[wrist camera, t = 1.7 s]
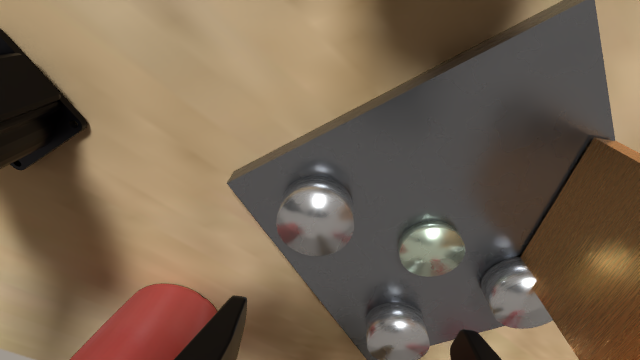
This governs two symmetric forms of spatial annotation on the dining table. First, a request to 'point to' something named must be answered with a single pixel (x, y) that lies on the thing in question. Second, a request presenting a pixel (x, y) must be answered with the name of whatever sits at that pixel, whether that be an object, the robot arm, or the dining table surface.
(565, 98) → the tribrach plate
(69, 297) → the dining table surface
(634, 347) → the thick wooden plank
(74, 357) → the flower pot
